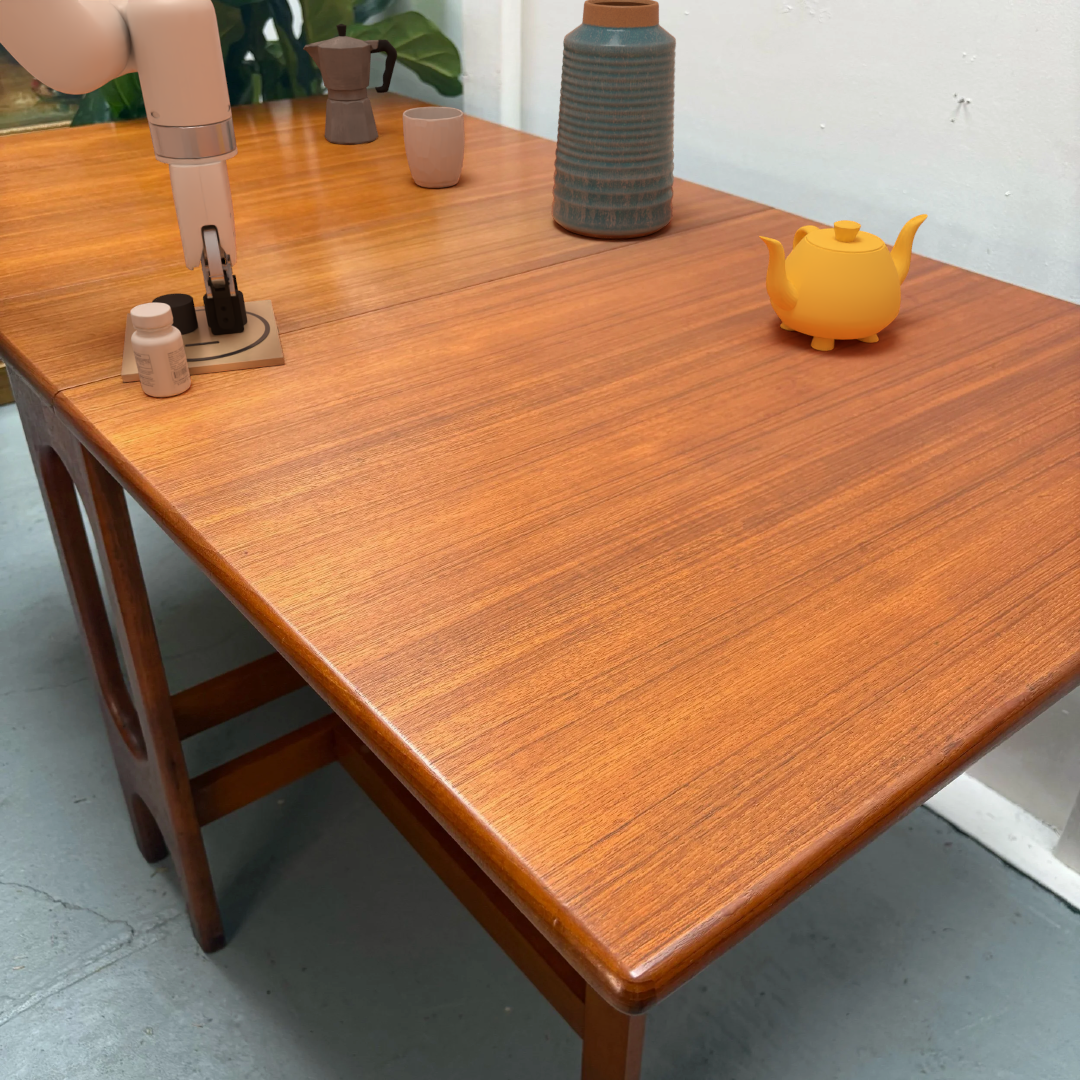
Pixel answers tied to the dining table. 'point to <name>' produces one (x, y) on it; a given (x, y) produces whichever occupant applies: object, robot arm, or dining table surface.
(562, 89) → the vase
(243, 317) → the dot
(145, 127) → the dining table surface
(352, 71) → the coffeepot
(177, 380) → the pill bottle
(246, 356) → the board
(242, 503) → the dining table surface
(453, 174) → the mug
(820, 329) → the teapot
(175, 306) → the dot
